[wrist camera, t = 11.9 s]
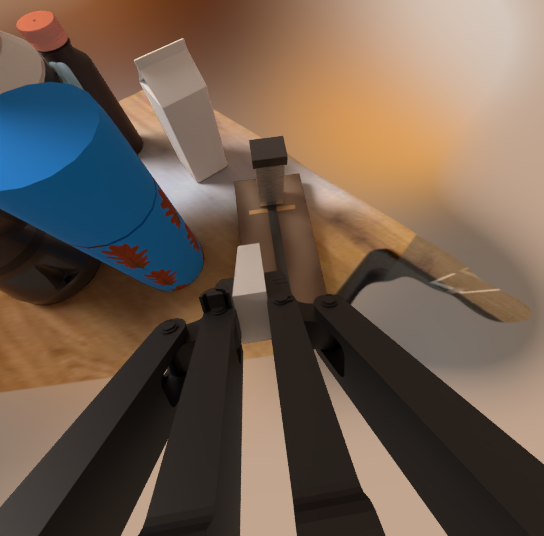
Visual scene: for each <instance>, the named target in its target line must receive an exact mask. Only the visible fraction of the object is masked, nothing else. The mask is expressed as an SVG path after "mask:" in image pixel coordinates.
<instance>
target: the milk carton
mask: <svg viewBox="0 0 544 536" xmlns="http://www.w3.org/2000/svg"><path fill="white" fill-rule="evenodd" d="M134 62H135V64H136V66H137V68H138V71H139V82H140V83H141V86H142V88H143V90H144V92H145V94H146V95H147V97H148V99H149V101H150V103H151V105H152V107H153V109H154V111H155V113H156V115H157V117H158V119H159V121H160V123H161V125H162V127H163V129H164V131H165V133H166V135H167V137H168V139H169V141H170V143H171V145H172V146H173V148H174V150H175V152H176V154H177V156H178V158H179V160H180V162H181V163H182V164H183V165H184V167H185V168H186V169H187V170H188V172H189V173H190V174H191V175H192V177H193V178H194V179H195V180H196V181H197V183H199V182H201V181H203V180H204V179H206V178H208V177H209V176H211V175H213V174H215V173H216V172H218V171H220V170H221V169H223V168H225V167H226V166H227V161H226V157H225V153H224V149H223V146H222V142H221V138H220V134H219V131H218V127H217V123H216V119H215V116H214V112H213V108H212V105H211V101H210V97H209V93H208V90H207V86H206V84H205V82H204V80H203V78H202V76H201V74H200V73H199V70H198V69H197V67H196V65H195V63H194V61H193V59H192V57H191V56H190V54H189V52H188V50H187V48H186V44H185V41H184V39H180V40H178V41H175V42H173V43H171V44H169V45H166V46H164V47H162V48H160V49H157V50H155V51H153V52H151V53H149V54H146V55H144V56H142V57H139V58H137V59H135V60H134Z"/></svg>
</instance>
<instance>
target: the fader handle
mask: <svg viewBox="0 0 544 536" xmlns="http://www.w3.org/2000/svg"><path fill="white" fill-rule="evenodd" d="M249 143H250V150H251V157H252V164H253V169H255V173H256V181H257V189H258V196H259V203H260V206H268V205H275V204H283V191H284V165H287V152H286V147H285V143H284V138H283V136H279V137H271V138H263V139H255V140H249Z"/></svg>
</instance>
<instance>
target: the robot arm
mask: <svg viewBox="0 0 544 536" xmlns="http://www.w3.org/2000/svg"><path fill="white" fill-rule="evenodd" d="M45 82H56V83H65V84H72V85H74V86H76V87H78V88H80V89H82V90H84V89H83V88H82V86H81V85H80V83H79V82H78V80H77V78H76V77H75V75H74V74H73V72H72V71H71V70H70V68H69V67H68V66H67V65H66V64H64V63H61V62H59V63H55V62H52V61H51V62H49V65H48V64H47V63H46V61H45V60H44V59H43V58H42V56H41V55H40V54H39V53H38V51H37V50H36V49H35V48H34V47H33V46H32V45H31V44H29V43H28V42H27V41H25V40H23V39H21V38H19V37H16V36H13V35H11V34H8V33H5V32H3V31H0V94H1V93H4V92H7V91H10V90H13V89H16V88H19V87H22V86H25V85H29V84H37V83H45ZM100 262H101V261H100V260H98V259H96V258H94V257H92V256H90V255H88V254H86V253H84V252H83V251H81V250H79V249H77V248H75V247H73V246H71V245H69V244H67V243H65V242H63V241H61V240H59V239H57V238H56V237H54V236H52V235H50V234H48V233H46V232H44V231H42V230H40V229H38V228H36V227H34V226H32V225H30V224H29V223H27V222H25V221H23V220H21V219H19V218H17V217H15V216H13V215H11V214H9V213H7V212H5V211H4V210H2V209H0V290H1V291H3V292H4V293H6V294H8V295H9V296H11V297H12V298H15V299H17V300H20V301H24V302H29V303H34V304H42V305H44V304H53V303H57V302H60V301H63V300H65V299H67V298H69V297H71V296H73V295H74V294H76V293H77V292H79V291H80V290H81V289H82V288H84V287H85V286H86V285H87V284H88V283H89V281H90V280H91V279H92V278H93V276H94V275H95V273H96V271H97V269H98V267H99V265H100ZM199 299H200V303H201V306H202V309H203V312H204V314H203V317H202V318H201V319H200V320H198V321H195V322H192V323H190V324H187V325H186V322H185V321H184V320H183V319H179V318H176V319H170V320H167V321H165V322H163V323H161V324H160V325H159V326H157V327H156V328H155V329H154V330H153V332H152V333H151V334H150V335H149V336H148V337H147V339H146V340H145V341H144V342H143V343H142V344H141V345H140V347H139V348H138V349H137V350H136V351H135V352H134V354H133V355H132V356H131V357H130V358H129V359H128V360H127V362H126V363H125V364H124V365H123V366H122V367H121V369H120V370H119V371H118V372H117V373H116V374H115V375H114V377H113V378H112V379H111V380H110V381H109V383H108V384H107V385H106V386H105V387H104V388H103V389H102V391H101V392H100V393H99V394H98V395H97V396H96V398H95V399H94V400H93V401H92V402H91V403H90V404H89V405H88V407H87V408H86V409H85V410H84V411H83V412H82V413H81V415H80V416H79V417H78V418H77V419H76V420H75V422H74V423H73V424H72V425H71V426H70V428H69V429H68V430H67V431H66V432H65V433H64V434H63V435H62V437H61V438H60V439H59V440H58V441H57V442H56V443H55V445H54V446H53V447H52V448H51V449H50V451H49V452H48V453H47V454H46V455H45V456H44V457H43V458H42V460H41V461H40V462H39V463H38V464H37V465H36V467H35V468H34V469H33V470H32V471H31V472H30V473H29V475H28V476H27V477H26V478H25V479H24V480H23V482H22V483H21V484H20V485H19V486H18V487H17V488H16V490H15V491H14V492H13V493H12V494H11V495H10V497H9V498H8V499H7V500H6V501H5V502H4V503H3V505H2V506H1V507H0V536H121V534H122V532H123V530H124V528H125V526H126V524H127V522H128V520H129V518H130V516H131V513H132V512H133V509H134V507H135V505H136V503H137V501H138V499H139V497H140V495H141V493H142V491H143V489H144V487H145V485H146V483H147V481H148V479H149V477H150V475H151V473H152V470H153V468H154V466H155V464H156V462H157V460H158V458H159V456H160V454H161V452H162V450H163V448H164V446H165V444H166V442H167V440H168V442H167V446H166V449H165V453H164V456H163V460H162V463H161V467H160V471H159V474H158V477H157V481H156V485H155V489H154V492H153V496H152V499H151V503H150V506H149V509H148V513H147V517H146V520H145V523H144V525H143V528H142V530H141V532H140V534H139V535H138V536H240V503H241V502H240V501H241V445H242V444H241V442H242V389H243V388H242V387H243V386H242V385H243V349H242V345H241V337H242V342H243V344H245V343H251V342H257V341H264V340H270V339H272V346H273V353H274V361H275V368H276V375H277V383H278V390H279V398H280V405H281V413H282V421H283V429H284V436H285V443H286V451H287V458H288V466H289V473H290V481H291V489H292V496H293V504H294V515H295V523H296V531H297V536H385V533H384V531H383V528H382V525H381V523H380V521H379V518H378V515H377V513H376V511H375V508H374V506H373V504H372V502H371V501H370V499H369V498H368V497H367V496H366V494H365V493H364V492H363V490H362V488H361V486H360V483H359V480H358V478H357V475H356V472H355V469H354V466H353V463H352V460H351V457H350V455H349V452H348V449H347V446H346V443H345V440H344V437H343V434H342V431H341V429H340V426H339V423H338V420H337V417H336V414H335V411H334V408H333V405H332V402H331V400H330V397H329V394H328V391H327V388H326V385H325V382H324V379H323V376H322V374H321V371H320V368H319V365H318V362H317V359H316V356H315V353H314V350H313V349H316V351H317V353H318V355H319V356H320V358H321V359H322V360H323V362H324V363H325V365H326V366H327V367H328V369H329V370H330V372H331V373H332V374H333V376H334V377H335V379H336V380H337V381H338V383H339V384H340V386H341V387H342V388H343V390H344V391H345V392H346V394H347V395H348V397H349V398H350V400H351V401H352V402H353V404H354V405H355V406H356V408H357V409H358V411H359V412H360V413H361V415H362V416H363V418H364V419H365V420H366V422H367V423H368V425H369V426H370V427H371V429H372V430H373V432H374V433H375V434H376V436H377V437H378V439H379V440H380V441H381V443H382V444H383V446H384V447H385V448H386V450H387V451H388V452H389V454H390V455H391V457H392V458H393V459H394V461H395V462H396V464H397V465H398V466H399V468H400V469H401V470H402V472H403V474H404V475H405V476H406V478H407V479H408V480H409V482H410V483H411V485H412V486H413V487H414V489H415V490H416V491H417V493H418V494H419V496H420V497H421V499H422V500H423V501H424V503H425V504H426V506H427V507H428V508H429V510H430V511H431V513H432V514H433V515H434V517H435V518H436V520H437V521H438V522H439V524H440V525H441V527H442V528H443V529H444V531H445V532H446V534H447V535H448V536H544V464H542V463H541V462H540V461H539V460H538V459H537V458H535V457H534V456H533V455H532V454H530V453H529V452H528V451H527V450H526V449H524V448H523V447H522V446H521V445H520V444H518V443H517V442H516V441H515V440H513V439H512V438H511V437H510V436H509V435H507V434H506V433H505V432H504V431H503V430H501V429H500V428H499V427H498V426H497V425H495V424H494V423H493V422H492V421H491V420H489V419H488V418H487V417H486V416H484V415H483V414H482V413H481V412H480V411H478V410H477V409H476V408H475V407H474V406H472V405H471V404H470V403H469V402H467V401H466V400H465V399H464V398H463V397H461V396H460V395H459V394H458V393H457V392H455V391H454V390H453V389H452V388H451V387H449V386H448V385H447V384H446V383H444V382H443V381H442V380H441V379H440V378H438V377H437V376H436V375H435V374H433V373H432V372H431V371H430V370H429V369H427V368H426V367H425V366H424V365H422V364H421V363H420V362H419V361H418V360H417V359H415V358H414V357H413V356H412V355H411V354H409V353H408V352H407V351H406V350H404V349H403V348H402V347H401V346H400V345H398V344H397V343H396V342H395V341H394V340H392V339H391V338H390V337H389V336H387V335H386V334H385V333H384V332H383V331H381V330H380V329H379V328H378V327H377V326H375V325H374V324H373V323H372V322H371V321H369V320H368V319H367V318H366V317H364V316H363V315H362V314H361V313H360V312H358V311H357V310H356V309H355V308H354V307H352V306H351V305H350V304H349V303H348V302H346V301H345V300H344V299H343V298H341V297H339V296H337V295H333V294H325V295H320V296H318V297H316V298H315V299H314V303H303V302H299V301H297V300H296V298H295V297H294V296H293V295H292V293H291V290H290V287H289V284H288V281H287V278H286V275H285V273H284V272H282V271H281V270H278V271H271V272H265V273H264V271H263V265H262V258H261V252H260V245H259V243H256V244H249V245H242V246H238V249H237V258H236V267H235V276H234V278H229V279H222V280H220V281H219V282H218V283H217V284H216V288H212V289H209V290H207V291H205V292H203V293H202V294H201V295H200V297H199ZM166 369H168V370H167V372H166V373H165V371H166ZM164 373H165V374H164Z"/></svg>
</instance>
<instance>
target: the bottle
mask: <svg viewBox="0 0 544 536" xmlns="http://www.w3.org/2000/svg"><path fill="white" fill-rule="evenodd" d="M17 29H18V30H19V31H20V32H21V34H22V35H23V36H24V37H25V39H26V40H27V41H28V42H29V43H30V44H31V45H32V46H33V47H34V48H35V49H36V50H37V51H38V53H39V54H40V55H42V56H43V57H44V59H45V61H46V63H47V64H48V65H49V62H51V61H52V62H55V63H59V62H61V63H64V64H66V65H67V66H68V67H69V68H70V70H71V71H72V72H73V74H74V75H75V77H76V78H77V80H78V82H79V83H80V85H81V86H82V88H83V89H84V90H85V91H87V92H88V93H89V94H90V95H91V96H92V97H93V99H94V100H95V101H96V102H97V103H98V104H99V105H100V106H101V108H102V109H103V110H104V111H105V112H106V113H107V115H108V116H109V117H110V118H111V120H112V121H113V122H114V124H115V125H116V126H117V128H118V129H119V130H120V132H121V133H122V135H123V136H124V137H125V139H126V140H127V142H128V143H129V144H130V146H131V147H132V149H133V150H134V151H135V153H136V154H137V153H138V152H139V151H140V150H141V148H142V145H143V142H142V139H141V137H140V136H139V134H138V133H137V131H136V129H135V128H134V126H133V125H132V123H131V122H130V120H129V118H128V117H127V115H126V114H125V112H124V111H123V109H122V107H121V106H120V104H119V103H118V101H117V100H116V98H115V97H114V95H113V93H112V92H111V90H110V89H109V87H108V85H107V84H106V82H105V81H104V79H103V78H102V76H101V74H100V73H99V71H98V70H97V68H96V67H95V65H94V63H93V62H92V60H91V59H90V58H89V57H88V56H87V55H86V54H85V53H83V52H81V51H80V50H78V49H76V48H74V47H72V45H71V44H70V39H69V38H68V35H67V34H66V32H65V30H64V29H63V28H62V26H61V25H60V23H59V21H58V20H57V18H56V17H55V15H54V14H52V13H51V12H48V11H35V12H31V13H29V14H27V15H25V16H23V17H22V18H20V19H19V21H18V22H17Z"/></svg>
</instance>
